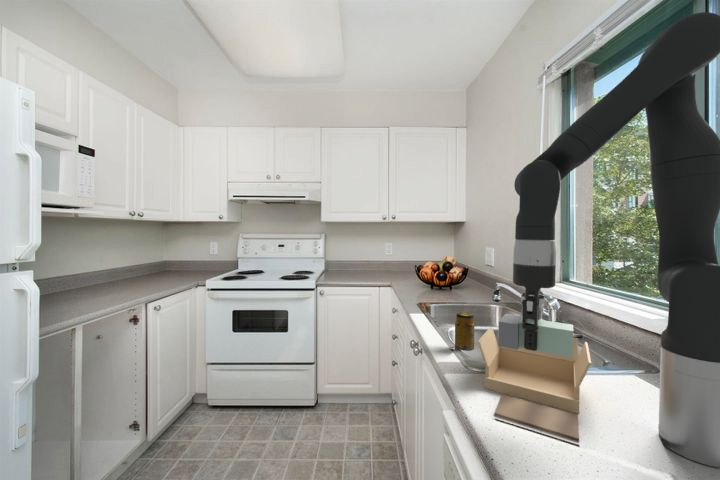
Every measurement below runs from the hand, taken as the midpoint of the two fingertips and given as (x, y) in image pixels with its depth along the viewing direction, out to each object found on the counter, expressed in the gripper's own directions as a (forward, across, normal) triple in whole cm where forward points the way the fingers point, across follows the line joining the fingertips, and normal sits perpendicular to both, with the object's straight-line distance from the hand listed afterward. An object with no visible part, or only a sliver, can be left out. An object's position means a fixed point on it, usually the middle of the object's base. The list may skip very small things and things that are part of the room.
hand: (531, 345), depth 63 cm
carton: (+15, +14, +1) cm, 21 cm away
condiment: (+16, +30, +21) cm, 40 cm away
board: (+15, 0, -1) cm, 15 cm away
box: (0, 0, 0) cm, 0 cm away
